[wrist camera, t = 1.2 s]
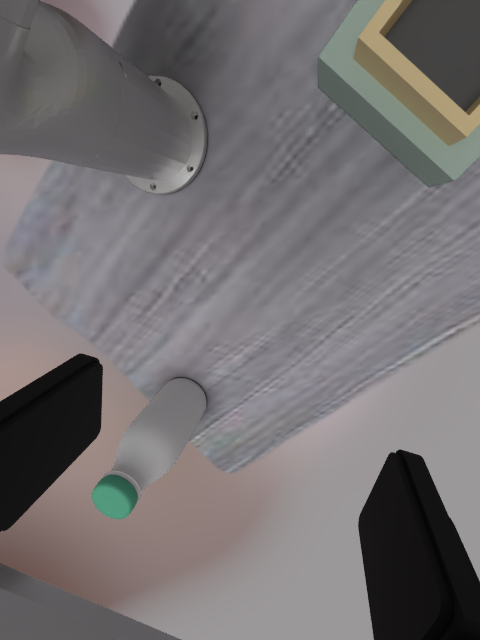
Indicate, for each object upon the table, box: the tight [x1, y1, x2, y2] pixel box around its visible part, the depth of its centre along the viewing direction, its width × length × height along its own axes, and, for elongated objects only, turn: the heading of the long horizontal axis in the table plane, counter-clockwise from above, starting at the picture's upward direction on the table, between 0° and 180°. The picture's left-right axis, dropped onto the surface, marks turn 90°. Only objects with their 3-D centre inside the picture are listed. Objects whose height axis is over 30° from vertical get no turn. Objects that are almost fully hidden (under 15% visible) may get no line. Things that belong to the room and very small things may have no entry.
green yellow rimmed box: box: [318, 0, 480, 187], centre depth 26 cm, size 16×14×10 cm
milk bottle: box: [92, 378, 207, 519], centre depth 41 cm, size 8×8×20 cm
